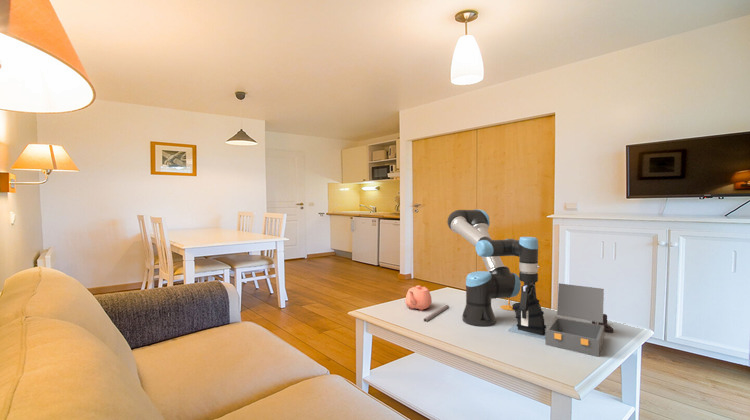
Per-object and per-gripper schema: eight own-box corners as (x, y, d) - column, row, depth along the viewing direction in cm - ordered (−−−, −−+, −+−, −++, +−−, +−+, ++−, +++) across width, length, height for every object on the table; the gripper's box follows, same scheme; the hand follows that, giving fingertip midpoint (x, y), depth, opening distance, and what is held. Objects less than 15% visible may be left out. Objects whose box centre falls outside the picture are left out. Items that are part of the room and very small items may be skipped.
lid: (558, 283, 155) (559, 283, 156) (557, 315, 153) (557, 314, 154) (603, 288, 145) (603, 288, 146) (602, 323, 143) (603, 322, 144)
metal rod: (448, 308, 188) (448, 305, 188) (427, 322, 165) (427, 318, 165) (445, 308, 189) (445, 304, 189) (423, 322, 166) (423, 317, 166)
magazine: (551, 333, 143) (534, 298, 147) (521, 340, 151) (507, 306, 156) (553, 331, 146) (537, 297, 150) (524, 337, 154) (510, 304, 158)
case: (545, 345, 137) (545, 306, 137) (557, 327, 157) (557, 293, 157) (598, 357, 126) (598, 315, 126) (605, 336, 146) (605, 300, 146)
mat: (508, 331, 153) (508, 329, 153) (513, 326, 159) (513, 324, 159) (544, 339, 143) (544, 337, 143) (549, 333, 150) (549, 332, 150)
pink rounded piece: (398, 311, 182) (398, 288, 182) (414, 302, 199) (414, 281, 199) (421, 315, 175) (421, 291, 175) (436, 305, 192) (436, 284, 192)
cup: (498, 305, 193) (498, 276, 192) (515, 305, 191) (515, 277, 191) (502, 310, 184) (502, 280, 183) (520, 310, 182) (520, 280, 182)
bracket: (599, 332, 152) (599, 321, 152) (591, 323, 164) (591, 312, 164) (614, 333, 150) (614, 322, 150) (605, 324, 162) (605, 314, 162)
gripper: (530, 277, 139) (530, 331, 139) (544, 269, 158) (543, 316, 158) (511, 275, 144) (511, 327, 144) (526, 267, 162) (526, 313, 163)
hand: (528, 321), depth 151 cm, fingers open, 11 cm apart
